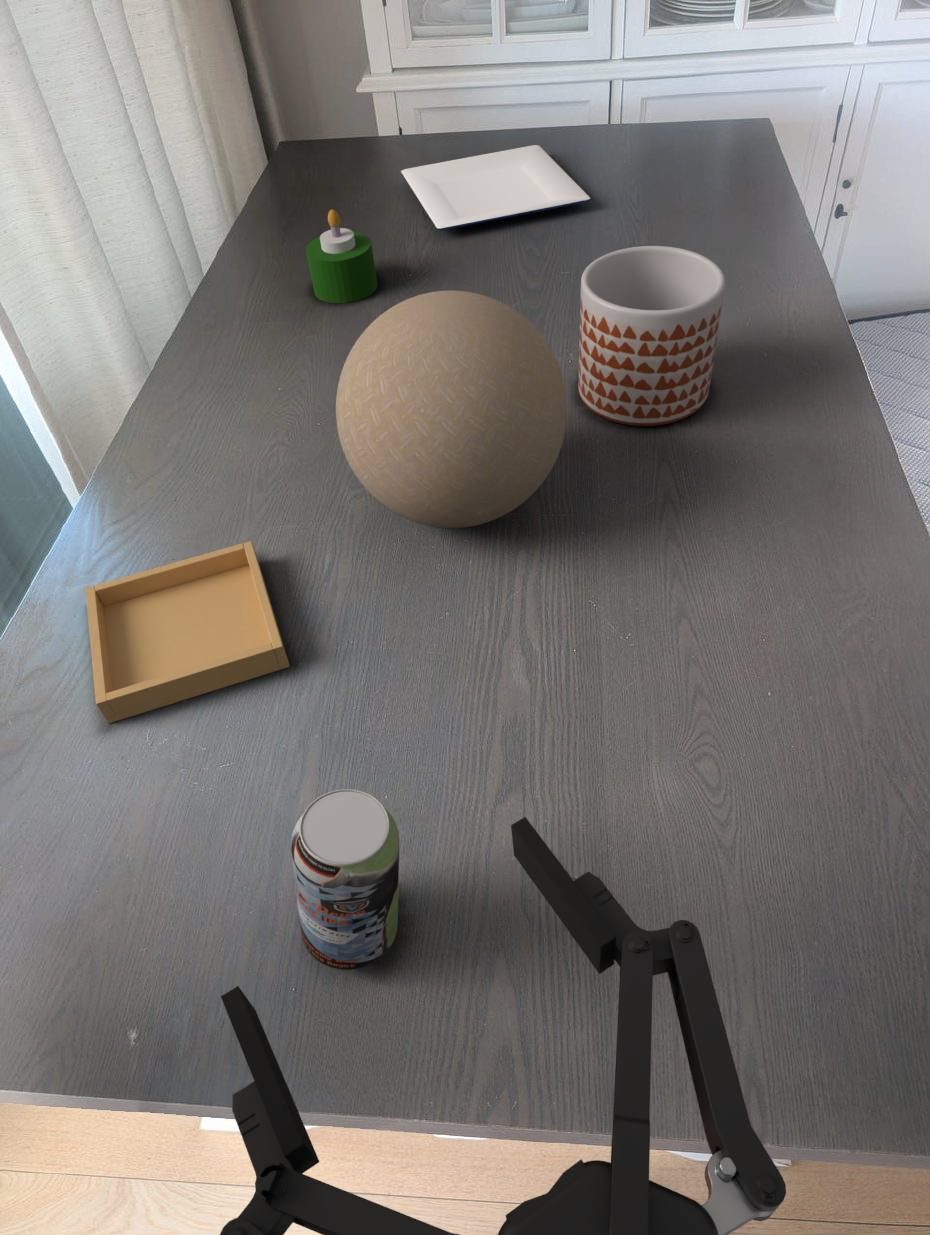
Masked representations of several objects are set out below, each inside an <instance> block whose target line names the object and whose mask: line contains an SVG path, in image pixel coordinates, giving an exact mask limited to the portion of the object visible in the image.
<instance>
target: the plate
mask: <svg viewBox="0 0 930 1235" xmlns="http://www.w3.org/2000/svg"><path fill="white" fill-rule="evenodd" d="M400 173H401V174H402V176H403V178H404V179H405V180H406V182H407V184H408V185H409V187H410V189H411V190H412V191H413V194H414V195H415V196H416V198H417V199H418V201H419V202H420V204H421V206H422V207H423V209H424V210H425V212H426V214H427V215H428V217H429V218H430V219H431V221H432V223H433V224H434V226H435V228H436V229H437V230H438V231H446V230H452V229H456V228H460V227H466V226H471V225H477V224H482V223H486V222H492V221H497V220H502V219H507V218H512V217H516V216H521V215H528V214H531V213H533V214H534V213H536V212H537V213H538V212H542V211H547V210H552V209H558V208H562V207H568V206H573V205H578V204H583V203H587V202H589V200H590V199H591V197H590V195H589V194H587V193H586V192H585V191H584V189H582V188H581V187H580V185H579V184H578V183H576V182H575V180H574V179H573V178H571V176H569V174H567V172H566V171H565V170H564V169H563V168H562V167H561V166H560V165H559V164H558V163H557V162H556V161H555V160H554V159H553V158H552V157H551V156H550V155H549V154H548V153H547V152H546V151H545V150H544V149H543V147H541V146H540V145H537V144H532V145H527V146H522V147H517V148H511V149H506V150H501V151H494V152H490V153H484V154H479V155H473V156H468V157H463V158H457V159H452V160H446V161H442V162H441V161H440V162H436V163H435V162H434V163H431V164H424V165H419V166H414V167H409V168H404V169H402V170H400Z"/></svg>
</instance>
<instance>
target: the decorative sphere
mask: <svg viewBox="0 0 930 1235" xmlns="http://www.w3.org/2000/svg"><path fill="white" fill-rule="evenodd" d="M335 418H336V428H337V433H338V438H339V443H340V445H341V448H342V452H343V454H344V456H345V458H346V461H347V462H348V465H349V466H350V468H351V470H352V472H353V474H354V475H355V476H356V478H357V479H358V481H359V482H360V483H361V485H362V486H363V487H364V488H365V489H366V491H367V492H368V493H369V494H370V495H372V496H373V497H374V499H375V500H377V501H378V502H379V503H380V504H381V505H383V506H384V507H385V508H387V509H388V510H390V511H392V512H393V513H395V514H397V515H398V516H400V517H403V518H404V519H407V520H409V521H411V522H415V523H418V524H421V525H425V526H428V527H435V528H442V529H443V528H446V529H460V528H469V527H474V526H479V525H482V524H486V523H490V522H491V521H494V520H497V519H498V518H501V517H503V516H505V515H507V514H508V513H511V512H512V511H514V510H515V509H518V507H520V506H521V505H522V504H523V503H525V502H526V501H527V500H528V499H530V498H531V496H532V495H533V494H535V492H536V491H537V490H538V489H539V488H540V486H542V484H544V482H545V481H546V479H547V477H548V475H549V474H550V473H551V471H552V469H553V467H554V465H555V464H556V462H557V459H558V457H559V454H560V452H561V449H562V446H563V442H564V439H565V434H566V429H567V421H568V420H567V419H568V396H567V389H566V386H565V380H564V377H563V373H562V370H561V368H560V365H559V363H558V360H557V358H556V356H555V354H554V352H553V350H552V348H551V347H550V345H549V343H548V341H547V340H546V339H545V338H544V336H543V335H542V334H541V333H540V331H539V330H538V329H537V327H535V326H534V325H533V324H532V322H530V321H529V320H528V319H527V318H526V317H525V316H524V315H522V314H521V313H519V312H518V311H517V310H516V309H514V308H512V307H511V306H509V305H507V304H506V303H504V302H501V301H499V300H497V299H495V298H492V297H491V296H488V295H483V294H480V293H478V292H477V293H476V292H472V291H465V290H437V291H431V292H426V293H422V294H418V295H415V296H412V297H410V298H407V299H405V300H402V301H400V302H399V303H397V304H395V305H393V306H392V307H390V308H388V309H387V310H386V311H384V312H383V313H381V314H380V315H379V316H378V317H377V318H376V319H374V320H373V321H372V322H371V323H370V324H369V325H368V326H367V327H366V328H365V329H364V331H363V332H361V335H360V336H359V337H358V338H357V339H356V341H355V343H354V344H353V346H352V347H351V349H350V351H349V353H348V355H347V357H346V359H345V361H344V364H343V367H342V370H341V372H340V376H339V379H338V384H337V390H336V398H335Z"/></svg>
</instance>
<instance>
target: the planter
mask: <svg viewBox="0 0 930 1235" xmlns="http://www.w3.org/2000/svg"><path fill="white" fill-rule="evenodd" d="M580 279H581V280H580V303H579V304H580V308H579V309H580V311H579V341H578V342H579V344H578V345H579V346H578V348H579V349H578V395H579V396H580V399H581V400H582V403H584V405H585V406H586V407H587V408H588V409H589V410H590V411H591V412H593V413H594V414H596V415H597V416H599V417H601V418H603V419H605V420H608V421H611V422H615V423H617V424H621V425H625V426H635V427H654V426H662V425H663V426H664V425H668V424H672V423H676V422H678V421H682V420H684V419H686V418H688V417H690V416H691V415H693V414H695V413H696V412H697V411H699V409H700V408H701V407H703V405H704V404H705V402H706V401H707V399H708V397H709V394H710V386H711V380H712V374H713V368H714V367H713V366H714V362H715V353H716V347H717V340H718V335H719V334H718V333H719V326H720V321H721V316H722V315H721V313H722V308H723V301H724V296H725V295H724V294H725V287H726V278H725V275H724V273H723V271H722V269H721V267H719V266H718V265H717V264H716V263H715V262H714V261H712V260H711V259H709V258H708V257H706V256H705V255H702V254H700V253H698V252H695V251H692V250H689V249H685V248H680V247H674V246H666V245H665V246H664V245H642V246H632V247H626V248H621V249H618V250H614V251H612V252H608V253H605V254H604V255H602V256H599V257H598V258H596V259H595V260H594V261H593V260H592V262H591V263H589V264H588V266H587V267H586V268H585V269H584V271H583V272H582V275H581V278H580Z"/></svg>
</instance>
